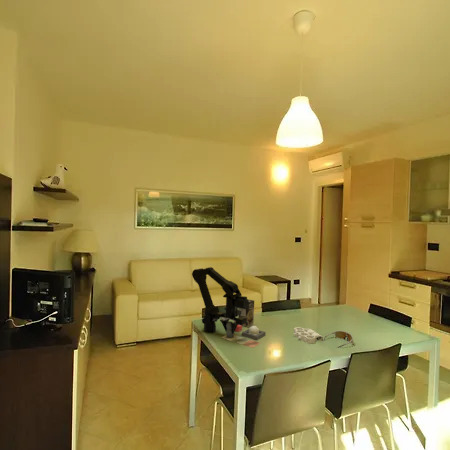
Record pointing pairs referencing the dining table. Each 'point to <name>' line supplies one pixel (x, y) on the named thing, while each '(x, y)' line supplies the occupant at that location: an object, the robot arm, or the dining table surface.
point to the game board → (242, 341)
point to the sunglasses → (342, 336)
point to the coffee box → (248, 314)
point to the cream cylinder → (254, 330)
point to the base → (255, 337)
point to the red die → (238, 328)
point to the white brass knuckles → (307, 335)
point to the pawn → (229, 330)
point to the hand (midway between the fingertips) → (230, 333)
